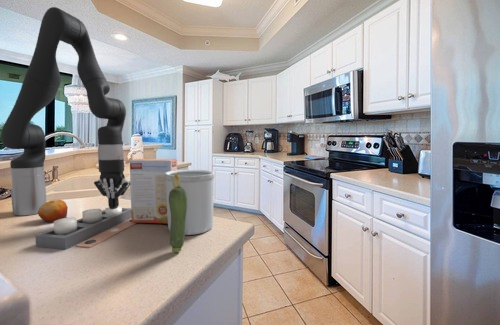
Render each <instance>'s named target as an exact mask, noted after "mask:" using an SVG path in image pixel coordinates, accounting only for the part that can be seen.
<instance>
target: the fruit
mask: <svg viewBox="0 0 500 325" xmlns="http://www.w3.org/2000/svg"><path fill="white" fill-rule="evenodd" d="M37 215H38V217H39V218H40V219H41V220H42V221H44V222H49V223H50V222H51V223H52V222H53V223H54V221H56V220H59V219H63V218H68V217H67V216H68V205H67V203H66V202H65V201H64V200H63V199H52V200H49V201H47V202H46V203H44V204H43V205H42V206H41V207H40V208H39V210H38V214H37Z"/></svg>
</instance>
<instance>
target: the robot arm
mask: <svg viewBox="0 0 500 325" xmlns="http://www.w3.org/2000/svg"><path fill="white" fill-rule="evenodd" d="M39 26H40V27H39V32H38V36H37V39H36V43H35V44H36V45H35V48H34V51H33V53H32V54H33V55H32V57H31V60H30V64H29V66H28V68H27V71H26V73H25V76H24V78H23V81H22V84H21V87H20V90H19V93H18V95H17V98H16V100H15V103H14V105H13V107H12V109H11V111H10V113H9V114H8V117H7V119H6V121H5V123H4V124H3V126H2V129H1V133H0V141H1V144H2V146H4V148H5V147H6V148H7V149H11V150H23V153H22V154H21V155H20V156H18V157H16V158H13V159H12V160H10V163H9V164H10V166H9V167H10V176H11V188H10V195H11V196H10V197H11V207H12V209H11V210H12V214H14V215H15V216H30V215H31V216H32V215H36V214H37V215H38V210H39V208H40V207H41V206H42V205H43V204H44V203H46V202H48V201H47V191H46V179H45V178H46V177H45V159H46V134H45V132H44V130H43V127H41V126H40V125H38V124H34V123H32V124H31V120H32V119H33V118H34V116H35V115H36V114H37V113H39V112H40V111H41V110H43V109H44V108H45V107H46V106H48V105H49V104H51V102H53V100H54V99H55V98H56V96H57V94H58V93H57V92H58V91H59V88H60V86H61V82H62V78H61V73H60V70H59V67H58V62H57V50H58V46H59V44H60V42H63V43H65V44H67V45H70V46H71V47H72V48H73V49H74V51H75V52H76V55H77V56H78V62H77V66H76V70H77V74H78V76H79V78H80V81H81V83H82V86H83V87H84V89H85V91H86V97H87V102H88V107H89V110H90V112H91V113H92V115H93V116H95V117H96V118H98V119H103V120H104V119H105V120H107V123H106V125H105V126H104V125H103V126H100V127H99V128H98V129H97V142H98V143H97V146H98V147H97V159H98V163H97V164H98V172H99V173H100V175H99V179H98V180H95V181H94V182H93V184H94V186H95V187H96V188H97V189H98V192H100V194H101V196H102V197H107V201H108V202H107V204H108V207H110V209H115V208H117V207H118V206H120V203H119V202H120V201H119V197H121V196H124V195H125V193H126V192H127V190H128V189H129V188H130V180H129V181H128V180H127V179H126V177H125V175H124V174H125V173H124V171H125V157H124V156H125V155H124V147H123V135H122V134H123V129H124V125H125V120H126V116H127V109H126V106H125V104H124V103H123V101H122V100H120V99H119V98H118V99H117V98H112V97H109V96H106V95H108V94H109V93H110V91H111V90H110V84H109V83H108V82H109V81H107V78H106V77H105V75H104V73H103V71H102V69H101V67H100V64H99V62H98V60H97V57H96V54H95V50H94V48H93V44H92V41H91V38H90V34H89V31H88V29H87V27H86V25H85V23H83V21H81V20H80V19H79V18H77V17H75V16H73V15H72V14H70V13H69V12H66V11H64V10H62V9H60V8H59V7H56V6H51V7H49V8H48V9H47V10H46V11H45V13H44V14H43V17H42V19H41V23H40V25H39Z"/></svg>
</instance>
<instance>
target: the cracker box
mask: <svg viewBox="0 0 500 325" xmlns="http://www.w3.org/2000/svg"><path fill="white" fill-rule="evenodd" d="M176 170H178V159H177V158H176V159H175V158H173V159H171V158H170V159H167V158H165V159H164V158H134V159H130V160H129V181H130V186H129V188H130V208H131V216H132V222H138V223H139V224H140V223H144V224H146V223H147V224H165V225H168V217H167V188H166V178H165V173H166V172H170V171H176Z"/></svg>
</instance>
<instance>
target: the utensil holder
mask: <svg viewBox="0 0 500 325" xmlns="http://www.w3.org/2000/svg"><path fill="white" fill-rule="evenodd" d="M177 172H178V174H179V175H178V176H179V178H180V182H181V186H180V187H182V188H183V189H184V190H185V191H186V194H187V213H186V223H185V236H191V235H192V236H193V235H200V234H203V233H207V232H209V231H210V230H211V229H212V228H213V224H214V192H215V189H214V186H215V183H214V181H215V180H214V179H215V177H216V176H215V175H216V174H215V172H214V171H213V170H209V169H177V170H176V171H170V172H166V173H165V178H166V188H167V217H168V224H167V228H168V231H169V232H170V229H171V212H170V206H169V193H170V191H171V190H172V189H173V188H174V187H173V185H172V181H173V178H174V176H175V173H177Z"/></svg>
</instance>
